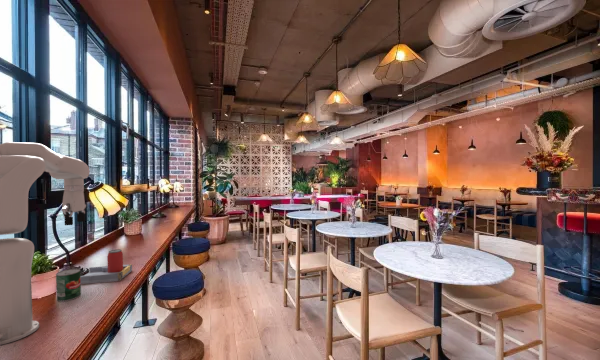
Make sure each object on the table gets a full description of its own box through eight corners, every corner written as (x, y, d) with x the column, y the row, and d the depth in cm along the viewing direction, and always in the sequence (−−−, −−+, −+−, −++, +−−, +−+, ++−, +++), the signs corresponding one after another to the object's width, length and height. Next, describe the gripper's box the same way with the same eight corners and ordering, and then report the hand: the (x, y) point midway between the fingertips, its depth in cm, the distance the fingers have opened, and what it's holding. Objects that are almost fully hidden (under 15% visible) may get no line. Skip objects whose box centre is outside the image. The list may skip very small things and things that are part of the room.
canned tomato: (62, 294, 117) (61, 270, 117) (84, 291, 120) (83, 267, 119) (52, 303, 109) (52, 276, 109) (76, 299, 112) (75, 273, 112)
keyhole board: (119, 281, 131) (119, 274, 131) (72, 285, 127) (72, 277, 127) (132, 270, 146) (132, 263, 146) (91, 273, 142) (91, 266, 142)
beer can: (104, 275, 135) (103, 252, 135) (115, 271, 141) (115, 248, 141) (115, 276, 134) (114, 253, 133) (126, 272, 140) (125, 249, 140)
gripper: (76, 188, 141) (77, 220, 141) (53, 190, 124) (54, 227, 124) (92, 188, 142) (93, 220, 143) (71, 189, 126) (72, 226, 126)
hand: (75, 223), depth 134 cm, fingers open, 9 cm apart
